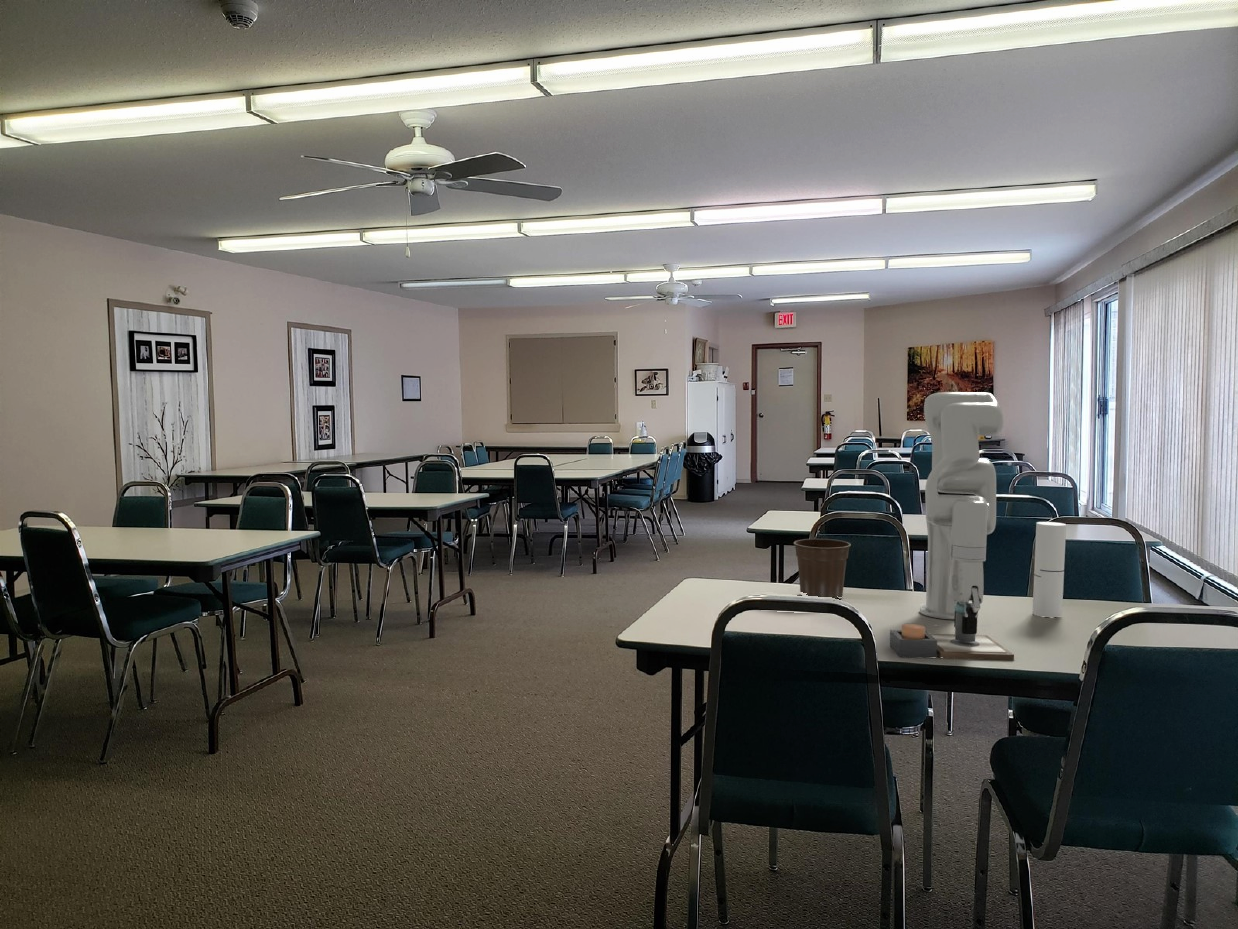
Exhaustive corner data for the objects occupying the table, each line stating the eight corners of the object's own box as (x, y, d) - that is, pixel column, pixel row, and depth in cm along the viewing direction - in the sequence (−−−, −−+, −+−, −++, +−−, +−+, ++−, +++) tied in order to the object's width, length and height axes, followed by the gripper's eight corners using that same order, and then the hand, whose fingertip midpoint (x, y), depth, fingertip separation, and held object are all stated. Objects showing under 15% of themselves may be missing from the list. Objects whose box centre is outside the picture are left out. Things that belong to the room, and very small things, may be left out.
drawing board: (919, 638, 203) (919, 632, 203) (986, 640, 202) (986, 634, 202) (940, 658, 187) (940, 651, 187) (1013, 660, 186) (1014, 653, 186)
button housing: (889, 646, 196) (890, 629, 196) (925, 647, 195) (925, 630, 195) (899, 657, 188) (899, 639, 187) (936, 658, 187) (937, 640, 187)
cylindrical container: (1054, 619, 223) (1059, 526, 221) (1027, 614, 228) (1031, 523, 226) (1066, 615, 227) (1070, 524, 225) (1039, 610, 233) (1043, 521, 231)
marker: (951, 636, 197) (952, 602, 196) (971, 636, 197) (972, 603, 196) (958, 641, 192) (959, 607, 192) (978, 642, 192) (980, 607, 192)
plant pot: (800, 603, 239) (801, 547, 237) (786, 590, 255) (787, 538, 254) (856, 603, 239) (858, 547, 238) (839, 590, 255) (841, 538, 254)
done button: (898, 638, 194) (899, 623, 194) (920, 638, 194) (921, 624, 193) (904, 644, 189) (905, 629, 189) (927, 645, 189) (928, 629, 188)
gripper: (939, 546, 202) (937, 621, 203) (964, 559, 185) (961, 640, 186) (971, 547, 201) (968, 622, 203) (999, 559, 185) (995, 641, 186)
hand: (965, 630), depth 194 cm, fingers closed on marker, 4 cm apart
